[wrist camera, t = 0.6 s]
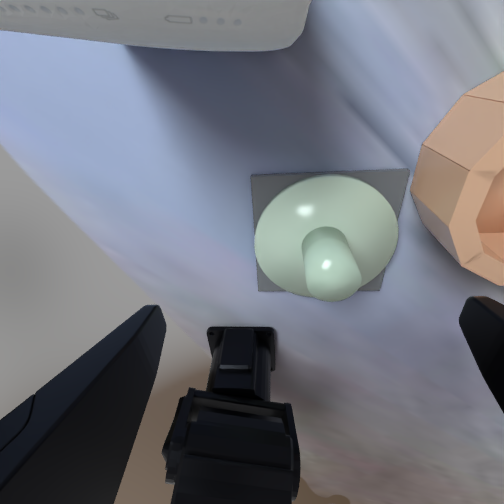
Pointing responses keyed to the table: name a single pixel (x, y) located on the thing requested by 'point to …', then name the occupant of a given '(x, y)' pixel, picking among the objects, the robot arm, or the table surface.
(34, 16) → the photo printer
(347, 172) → the mat
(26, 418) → the robot arm
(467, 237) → the bowl
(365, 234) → the lid
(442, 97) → the table surface
